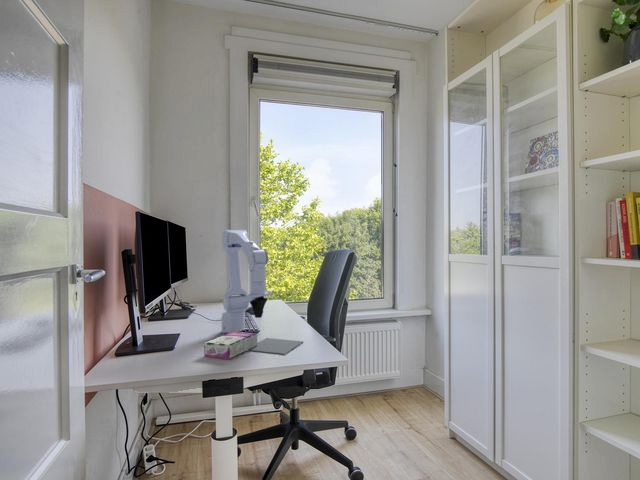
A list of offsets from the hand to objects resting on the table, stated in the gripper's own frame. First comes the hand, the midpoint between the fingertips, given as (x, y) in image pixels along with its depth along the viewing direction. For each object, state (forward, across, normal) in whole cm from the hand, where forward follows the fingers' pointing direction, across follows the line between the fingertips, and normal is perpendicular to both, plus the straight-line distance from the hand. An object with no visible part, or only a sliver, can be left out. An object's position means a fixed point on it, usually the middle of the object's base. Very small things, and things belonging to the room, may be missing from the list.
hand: (258, 317), depth 142 cm
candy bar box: (+8, -2, +4) cm, 9 cm away
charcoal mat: (+10, 0, -7) cm, 13 cm away
